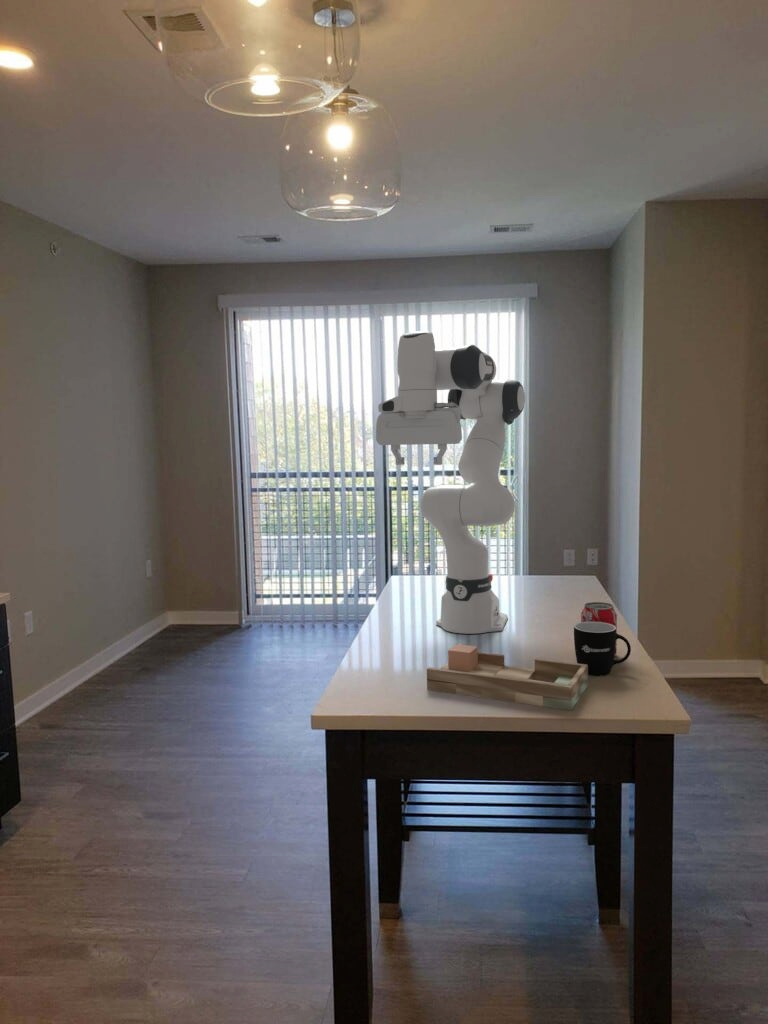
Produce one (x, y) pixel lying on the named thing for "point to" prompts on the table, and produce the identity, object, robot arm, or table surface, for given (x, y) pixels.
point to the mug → (597, 646)
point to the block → (463, 657)
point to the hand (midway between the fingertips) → (418, 464)
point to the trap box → (514, 681)
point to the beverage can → (600, 614)
